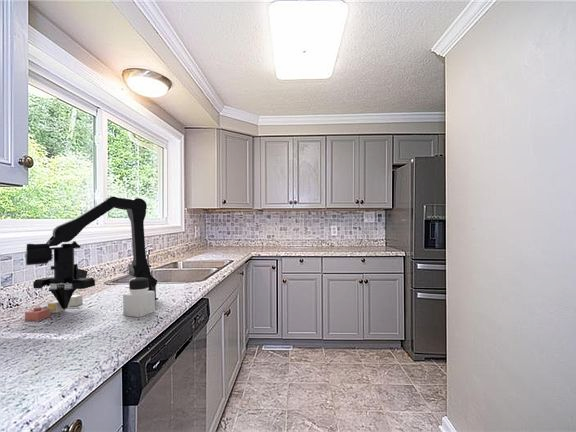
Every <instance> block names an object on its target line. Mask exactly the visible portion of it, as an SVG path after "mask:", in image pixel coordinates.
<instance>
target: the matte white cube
mask: <svg viewBox="0 0 576 432" xmlns="http://www.w3.org/2000/svg"><path fill="white" fill-rule="evenodd" d="M46 306H48V309H50V314H51V313H60V312H63V311H66V309H62V307H61V305H60V304H59V302H58V301H57V299H55V300H53V301H49V302H47V305H46Z"/></svg>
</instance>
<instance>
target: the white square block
mask: <svg viewBox="0 0 576 432" xmlns="http://www.w3.org/2000/svg"><path fill="white" fill-rule="evenodd" d="M83 300H84V299H83V294H72V296H71V299H70V302H69V304H68V307H79V306H81V305H83Z"/></svg>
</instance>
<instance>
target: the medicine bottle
mask: <svg viewBox="0 0 576 432" xmlns="http://www.w3.org/2000/svg"><path fill="white" fill-rule="evenodd" d="M148 289H149V280H148V278H144V277H140V278H133V279H129V281H128V291H129V292H126V293H123V295H122V299H123V300H122V305H123V310H122V311H123V312H122V313H123V316H124V317H125V316H126V317H134V318H135V317H136V318H141V317H145V316H147V315H149V314H152V313H155V311H156V301H155V292H154V291H148Z"/></svg>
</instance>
